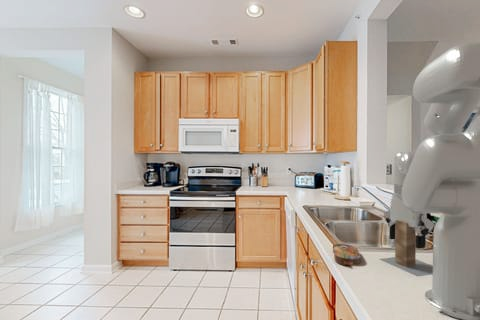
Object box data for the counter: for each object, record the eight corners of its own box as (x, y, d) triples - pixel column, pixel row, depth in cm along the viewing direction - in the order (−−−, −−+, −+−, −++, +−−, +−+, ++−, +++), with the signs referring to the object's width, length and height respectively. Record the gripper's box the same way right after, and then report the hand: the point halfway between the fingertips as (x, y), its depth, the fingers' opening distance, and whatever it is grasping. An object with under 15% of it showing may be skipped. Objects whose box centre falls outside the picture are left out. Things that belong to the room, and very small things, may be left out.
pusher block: (415, 265, 88) (415, 221, 88) (406, 267, 87) (406, 223, 86) (404, 261, 92) (404, 219, 91) (395, 262, 90) (395, 220, 90)
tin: (363, 260, 88) (335, 255, 90) (362, 269, 88) (334, 265, 90) (355, 245, 102) (331, 241, 104) (355, 253, 102) (331, 250, 104)
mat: (446, 273, 84) (446, 271, 84) (417, 278, 80) (417, 276, 80) (405, 257, 97) (406, 255, 97) (379, 261, 93) (379, 259, 93)
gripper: (442, 193, 82) (441, 250, 82) (393, 187, 98) (392, 235, 99) (424, 194, 80) (423, 253, 80) (377, 187, 96) (376, 236, 96)
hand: (406, 243), depth 89 cm, fingers open, 9 cm apart
